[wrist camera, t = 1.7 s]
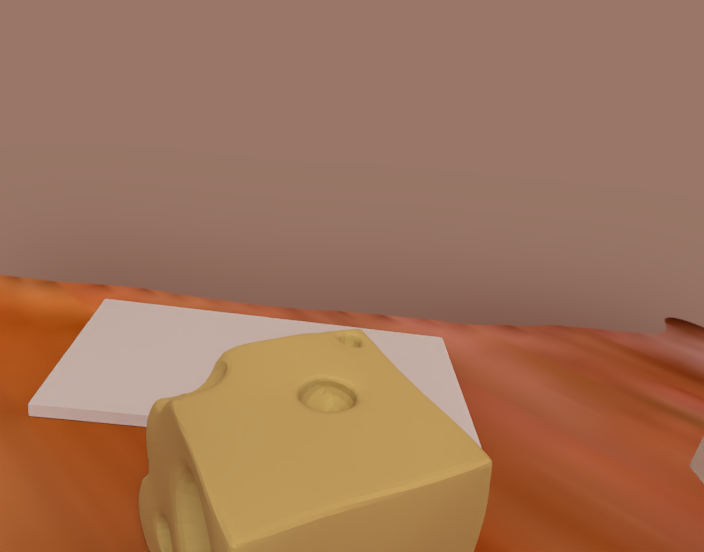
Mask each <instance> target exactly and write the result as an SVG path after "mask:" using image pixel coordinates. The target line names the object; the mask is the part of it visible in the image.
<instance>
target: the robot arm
mask: <svg viewBox="0 0 704 552" xmlns="http://www.w3.org/2000/svg"><path fill="white" fill-rule="evenodd" d="M689 466H690V467H691V469H692V470H693V471H694V472H695V473H696V475H697V476H698V477H699V478H700V480H701V481H702V482H703V483H704V436H703V438H702V440H701V443H700V445H699V447H698V449H697V451H696V453H695V455H694V457H693V459H692V461H691V463H690V465H689Z"/></svg>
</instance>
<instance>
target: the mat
mask: <svg viewBox="0 0 704 552" xmlns="http://www.w3.org/2000/svg"><path fill="white" fill-rule="evenodd" d="M350 329H361V330H362V331H363V332H364V333H365V334H366V335H367V336H368V337H369V338H370V339H371V340H372V341H373V343H374V344H375V345H376V346H377V347H378V348H379V349H380V351H381V352H382V353H383V354H384V355H385V356H386V357H387V358H388V359H389V360H390V361H391V362H392V363H393V364H394V365H395V366H396V367H397V369H398V370H399V371H400V372H401V373H402V374H403V375H404V376H405V377H406V378H408V379H409V380H410V381H411V382H412V383H413V384H414V385H415V386H416V387H417V388H418V389H419V390H420V391H421V392H422V393H423V394H424V395H425V396H426V397H428V398H429V399H430V400H431V401H432V402H433V403H434V404H435V405H436V406H438V407H439V408H440V409H441V410H442V411H443V412H444V413H445V414H446V415H448V416H449V417H450V418H451V419H452V420H453V421H454V422H455V423H456V424H458V425H459V426H460V427H461V428H462V429H463V430H464V431H465V432H466V433H467V434H468V435H469V436H470V437H471V438H472V439H473V440H474V441H475V442H476V443H477V444H478V445H479V447H480V448H482V447H481V445H480V442H479V439H478V436H477V433H476V431H475V428H474V425H473V422H472V419H471V417H470V414H469V411H468V408H467V406H466V403H465V400H464V397H463V394H462V392H461V389H460V386H459V383H458V381H457V378H456V375H455V372H454V369H453V367H452V364H451V361H450V358H449V355H448V353H447V350H446V347H445V344H444V342H443V339H442V337H433V336H425V335H416V334H407V333H399V332H390V331H381V330H373V329H364V328H355V327H347V326H338V325H329V324H321V323H312V322H304V321H295V320H286V319H278V318H269V317H260V316H252V315H243V314H234V313H226V312H217V311H208V310H200V309H191V308H182V307H174V306H165V305H156V304H148V303H139V302H130V301H122V300H113V299H105V300H104V301H103V303H102V304H101V305H100V307H99V308H98V309H97V311H96V312H95V313H94V315H93V316H92V317H91V319H90V320H89V322H88V323H87V324H86V326H85V327H84V328H83V330H82V331H81V332H80V334H79V335H78V337H77V338H76V339H75V341H74V342H73V343H72V345H71V346H70V347H69V349H68V350H67V351H66V353H65V354H64V356H63V357H62V358H61V360H60V361H59V362H58V364H57V365H56V366H55V368H54V369H53V371H52V372H51V373H50V375H49V376H48V377H47V379H46V380H45V381H44V383H43V384H42V386H41V387H40V388H39V390H38V391H37V392H36V394H35V395H34V396H33V398H32V399H31V400H30V402H29V403H28V413H29V416H36V417H47V418H57V419H68V420H78V421H89V422H100V423H110V424H121V425H131V426H142V427H147V420H148V416H149V412H150V410H151V408H152V406H153V404H154V403H155V402H156V401H157V400H159V399H162V398H169V397H174V396H179V395H181V394H185V393H191V392H193V391H195V390H196V389H198V388H199V387H201V386H202V385H203V384H204V383H205V382H206V380H207V379H208V377H209V376H210V374H211V372H212V370H213V368H214V366H215V364H216V362H217V360H218V359H219V358H220V357H221V356H222V354H223V353H224V352H225V351H227V350H230V349H232V348H234V347H236V346H240V345H244V344H248V343H252V342H258V341H263V340H269V339H275V338H281V337H286V336H292V335H299V334H307V333H322V332H329V331H339V330H350Z"/></svg>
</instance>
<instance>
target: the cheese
mask: <svg viewBox="0 0 704 552" xmlns="http://www.w3.org/2000/svg"><path fill="white" fill-rule="evenodd" d="M146 445H147V453H148V462H149V473H148V474H147V475H146V476H145V477H144V478H143V480H142V483H141V487H140V491H139V502H138V506H139V516H140V521H141V525H142V529H143V533H144V537H145V540H146V544H147V546H148V549H149V551H150V552H474V549H475V546H476V543H477V540H478V537H479V534H480V531H481V527H482V524H483V520H484V517H485V513H486V508H487V502H488V496H489V487H490V478H491V470H492V460H491V459H490V458H489V456H488V455H487V454H486V453H485V452H484V451H483V450H482V449H481V448H480V447H479V445H478V444H477V443H476V442H475V441H474V440H473V439H472V438H471V437H470V436H469V435H468V434H467V433H466V432H465V431H464V430H463V429H462V428H461V427H460V426H459V425H458V424H456V423H455V422H454V421H453V420H452V419H451V418H450V417H449V416H448V415H446V414H445V413H444V412H443V411H442V410H441V409H440V408H439V407H438V406H436V405H435V404H434V403H433V402H432V401H431V400H430V399H429V398H428V397H426V396H425V395H424V394H423V393H422V392H421V391H420V390H419V389H418V388H417V387H416V386H415V385H414V384H413V383H412V382H411V381H410V380H409V379H408V378H406V377H405V376H404V375H403V374H402V373H401V372H400V371H399V370H398V369H397V367H396V366H395V365H394V364H393V363H392V362H391V361H390V360H389V359H388V358H387V357H386V356H385V355H384V354H383V353H382V352H381V351H380V349H379V348H378V347H377V346H376V345H375V344H374V343H373V341H372V340H371V339H370V338H369V337H368V336H367V335H366V334H365V333H364V332H363V331H362V330H361V329H350V330H339V331H329V332H322V333H307V334H299V335H292V336H286V337H281V338H275V339H269V340H263V341H258V342H252V343H248V344H244V345H240V346H236V347H234V348H232V349H230V350H227V351H225V352H224V353H223V354H222V356H221V357H220V358H219V359H218V360H217V362H216V364H215V366H214V368H213V370H212V372H211V374H210V376H209V377H208V379H207V380H206V382H205V383H204V384H203V385H202V386H201V387H199V388H198V389H196V390H195V391H193V392H191V393H185V394H181V395H179V396H174V397H169V398H162V399H159V400H157V401H156V402H155V403H154V404H153V406H152V408H151V410H150V412H149V416H148V420H147V427H146Z"/></svg>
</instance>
